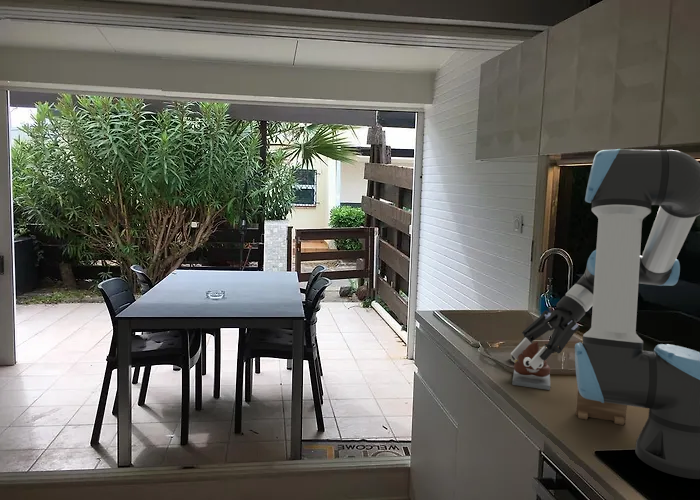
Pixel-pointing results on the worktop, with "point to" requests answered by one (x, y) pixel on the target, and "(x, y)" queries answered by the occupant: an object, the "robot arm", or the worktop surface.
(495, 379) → the worktop surface
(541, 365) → the poop emoji
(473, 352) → the worktop surface
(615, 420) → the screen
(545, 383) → the board
